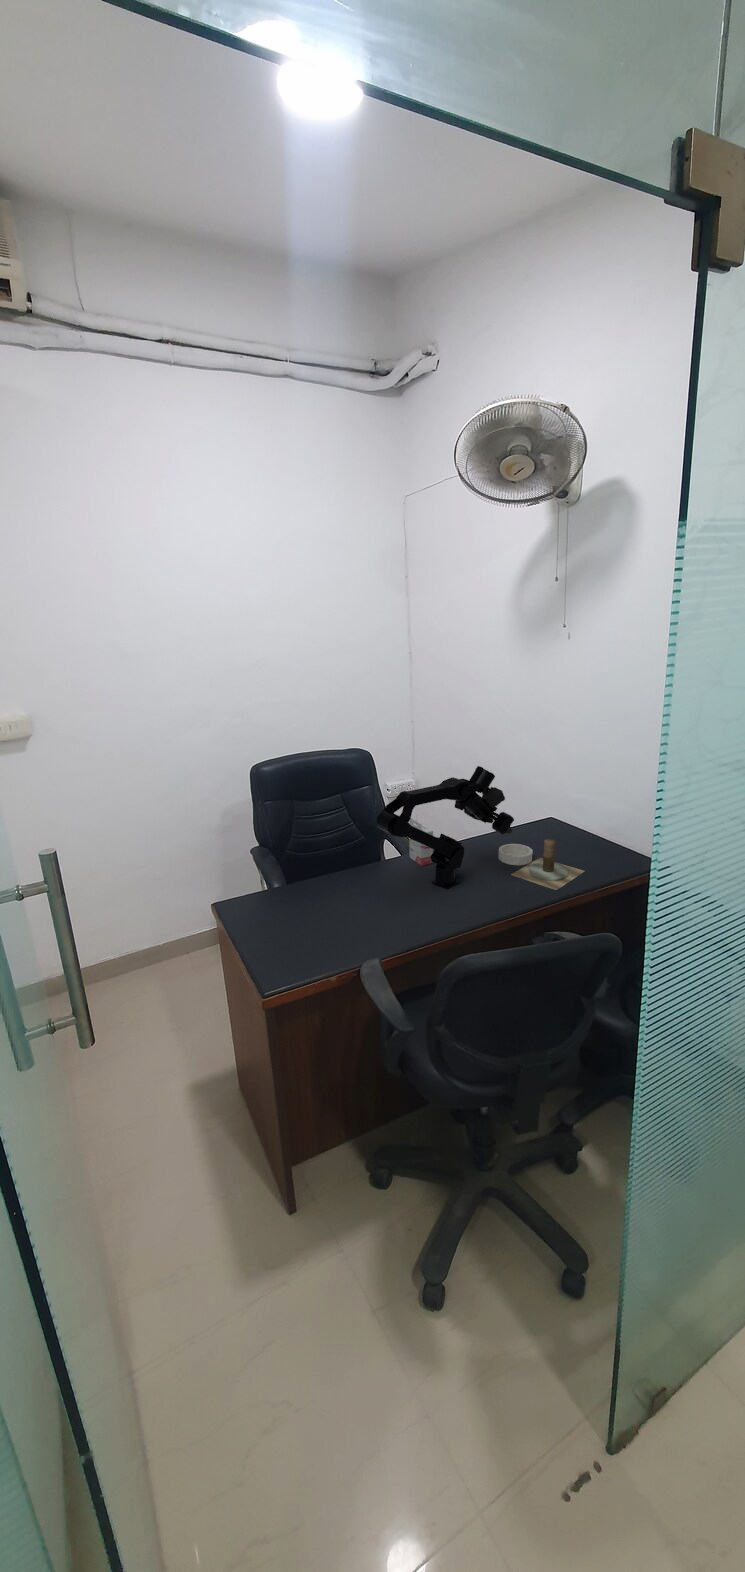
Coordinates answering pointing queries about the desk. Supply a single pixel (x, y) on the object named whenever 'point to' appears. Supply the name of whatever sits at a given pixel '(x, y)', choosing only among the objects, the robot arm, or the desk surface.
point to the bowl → (515, 854)
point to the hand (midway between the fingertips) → (501, 827)
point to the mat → (554, 885)
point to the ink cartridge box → (420, 846)
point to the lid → (548, 865)
